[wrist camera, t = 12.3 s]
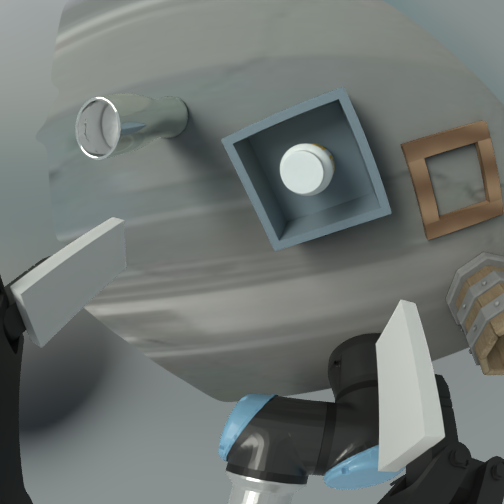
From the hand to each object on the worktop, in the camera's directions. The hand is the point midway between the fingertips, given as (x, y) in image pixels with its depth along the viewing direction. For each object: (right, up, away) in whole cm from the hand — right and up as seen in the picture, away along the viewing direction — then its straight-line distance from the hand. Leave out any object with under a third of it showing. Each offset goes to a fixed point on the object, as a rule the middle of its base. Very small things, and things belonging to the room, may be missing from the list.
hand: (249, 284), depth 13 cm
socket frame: (+27, +11, +18) cm, 34 cm away
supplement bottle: (+8, +12, +22) cm, 26 cm away
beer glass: (-11, +20, +24) cm, 34 cm away
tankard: (+39, -2, +21) cm, 44 cm away
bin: (+8, +13, +22) cm, 27 cm away
